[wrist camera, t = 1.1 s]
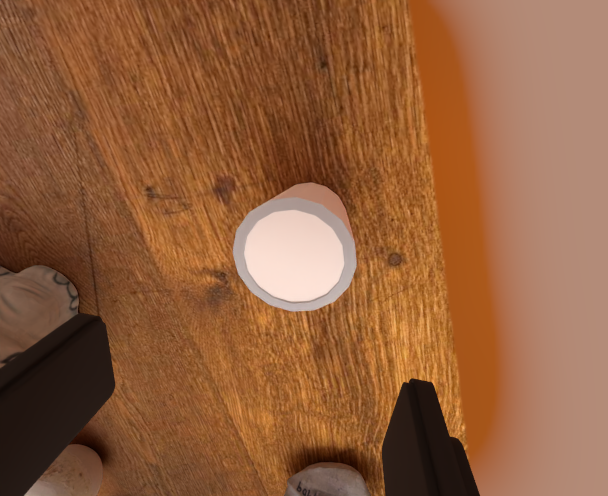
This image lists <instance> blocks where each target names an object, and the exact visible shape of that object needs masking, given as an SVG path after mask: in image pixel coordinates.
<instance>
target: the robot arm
mask: <svg viewBox="0 0 608 496" xmlns="http://www.w3.org/2000/svg"><path fill="white" fill-rule="evenodd" d="M114 389H115V380H114V373H113V367H112V361H111V354H110V348H109V342H108V336H107V329H106V325H105V323H104V322H103V321H102V318H101V317H99V316H94V315H89V314H84V313H79V314H77V315H75V316H73V317H72V318H71V319H69V320H68V321H66V322H65V323H63V324H62V325H61V326H59V327H58V328H56V329H55V330H54V331H52V332H51V333H49V334H48V335H46V336H45V337H44V338H42V339H41V340H39V341H38V342H37V343H35V344H34V345H32V346H31V347H30V348H28V349H27V350H25V351H24V352H22V353H21V354H20V355H18V356H17V357H15V358H14V359H13V360H11V361H10V362H8V363H7V364H5V365H4V366H3V367H1V368H0V496H24V495H25V494H26V493H27V492H28V491H29V489H30V488H31V487H32V486H33V485H34V484H35V483H36V481H37V480H38V479H39V478H40V477H41V476H42V475H43V473H44V472H45V471H46V470H47V469H48V468H49V467H50V465H51V464H52V463H53V462H54V461H55V460H56V458H57V457H58V456H59V455H60V454H61V453H62V452H63V450H64V449H65V448H66V447H67V446H68V445H69V444H70V442H71V441H72V440H73V439H74V438H75V437H76V436H77V434H78V433H79V432H80V431H81V430H82V429H83V428H84V426H85V425H86V424H87V423H88V422H89V421H90V419H91V418H92V417H93V416H94V415H95V414H96V413H97V411H98V410H99V409H100V408H101V407H102V406H103V405H104V403H105V402H106V401H107V400H108V399H109V398H110V396H111V395H112V393H113V391H114ZM382 461H383V472H384V483H385V494H386V496H480V494H479V491H478V489H477V486H476V483H475V480H474V477H473V474H472V471H471V468H470V465H469V462H468V459H467V456H466V453H465V450H464V448H463V446H462V443H461V442H460V441H459V439H457V438H455V437H450V436H449V433H448V430H447V427H446V423H445V420H444V417H443V414H442V410H441V407H440V404H439V401H438V397H437V394H436V391H435V388H434V385H433V383H432V382H427V381H422V380H417V379H410V381H409V383H406V382H404V383H403V384H402V387H401V390H400V393H399V396H398V399H397V402H396V405H395V408H394V411H393V414H392V417H391V420H390V423H389V426H388V429H387V432H386V435H385V438H384V441H383V446H382Z"/></svg>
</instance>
